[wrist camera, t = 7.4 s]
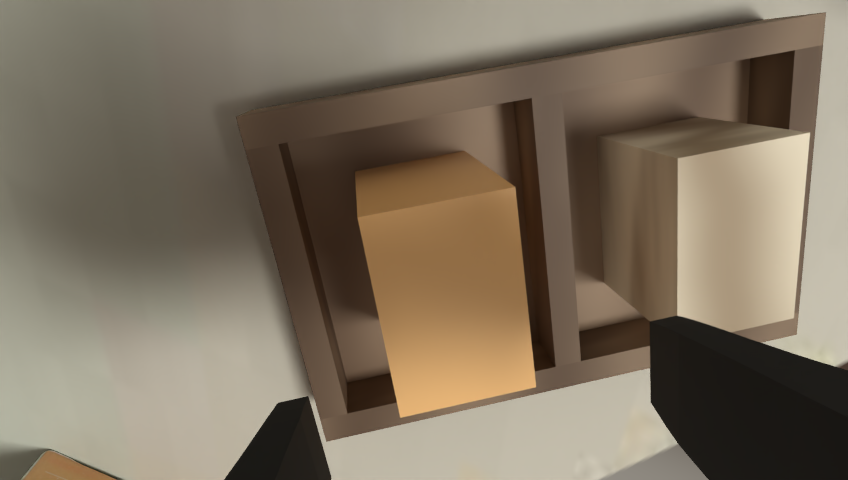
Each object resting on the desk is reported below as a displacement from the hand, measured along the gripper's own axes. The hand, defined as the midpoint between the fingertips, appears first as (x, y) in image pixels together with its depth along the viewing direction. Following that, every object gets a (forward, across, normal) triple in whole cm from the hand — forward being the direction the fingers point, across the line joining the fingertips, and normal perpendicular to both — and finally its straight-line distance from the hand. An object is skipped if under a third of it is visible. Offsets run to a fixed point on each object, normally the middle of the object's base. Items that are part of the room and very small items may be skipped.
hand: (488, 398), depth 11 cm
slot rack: (+10, -4, 0) cm, 11 cm away
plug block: (+10, 0, 0) cm, 10 cm away
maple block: (+10, -9, 0) cm, 13 cm away
